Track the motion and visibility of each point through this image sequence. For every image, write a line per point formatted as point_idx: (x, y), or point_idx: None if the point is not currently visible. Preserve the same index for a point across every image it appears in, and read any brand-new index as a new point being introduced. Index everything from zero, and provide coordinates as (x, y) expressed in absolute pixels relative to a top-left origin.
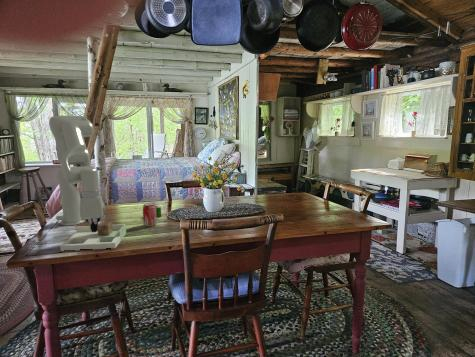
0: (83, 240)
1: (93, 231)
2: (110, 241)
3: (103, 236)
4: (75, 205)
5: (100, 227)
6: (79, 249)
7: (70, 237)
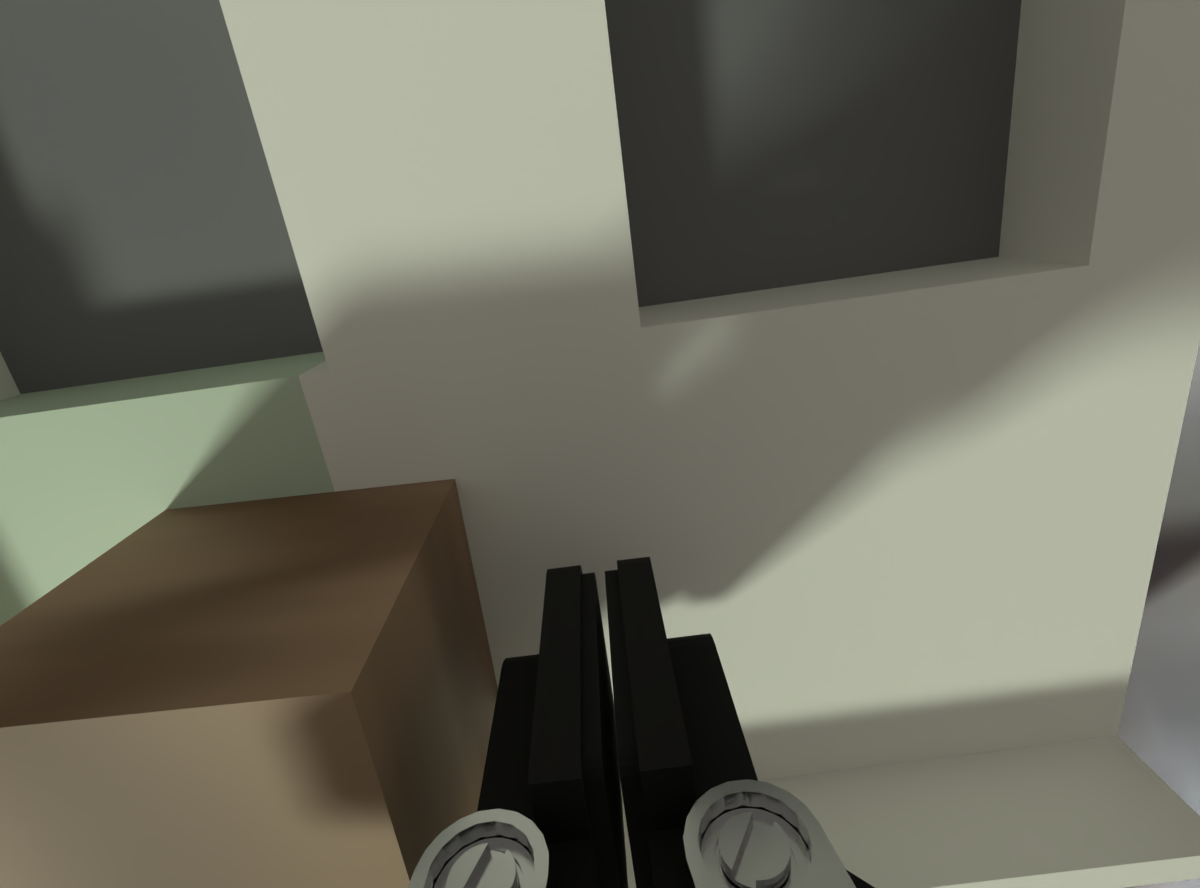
0: (779, 295)
1: (606, 583)
2: (136, 361)
3: (269, 431)
4: None
5: (253, 643)
6: None
7: (1190, 365)
